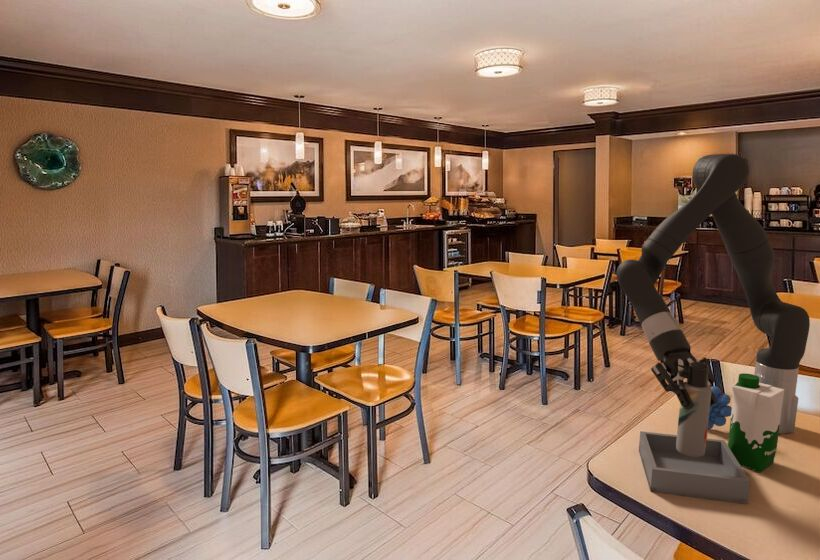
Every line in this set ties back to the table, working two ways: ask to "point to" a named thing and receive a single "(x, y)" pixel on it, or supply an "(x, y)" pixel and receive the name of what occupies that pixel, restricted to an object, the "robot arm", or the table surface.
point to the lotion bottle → (695, 412)
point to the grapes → (719, 409)
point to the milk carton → (755, 422)
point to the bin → (693, 469)
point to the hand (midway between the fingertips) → (701, 406)
